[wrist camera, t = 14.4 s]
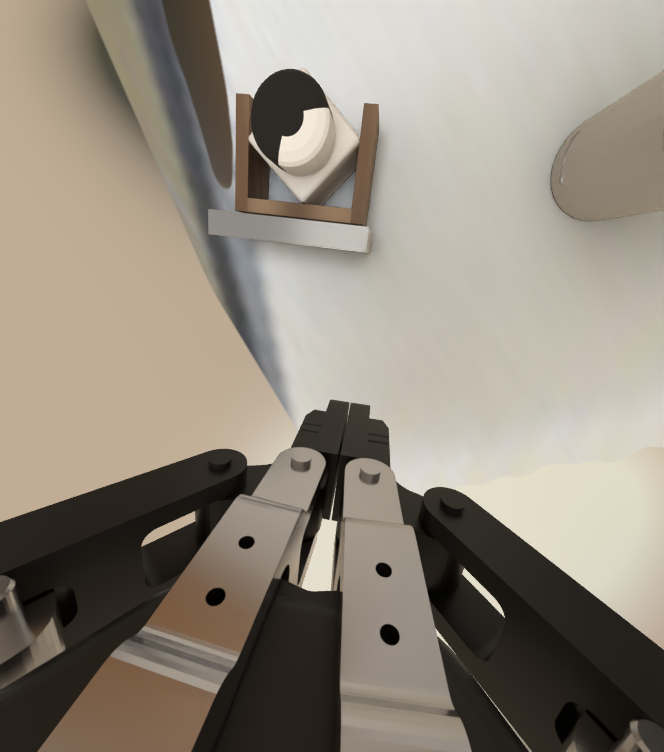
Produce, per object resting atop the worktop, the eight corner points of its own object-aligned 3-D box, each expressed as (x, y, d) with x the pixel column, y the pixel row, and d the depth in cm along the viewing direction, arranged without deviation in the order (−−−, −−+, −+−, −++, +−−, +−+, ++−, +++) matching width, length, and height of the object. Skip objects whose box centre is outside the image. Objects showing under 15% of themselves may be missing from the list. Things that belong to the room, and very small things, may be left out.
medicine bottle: (270, 159, 36) (220, 116, 25) (318, 101, 33) (286, 24, 22) (316, 212, 37) (287, 194, 26) (364, 160, 35) (356, 115, 23)
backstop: (372, 233, 37) (369, 226, 28) (369, 253, 38) (365, 252, 28) (250, 220, 38) (208, 209, 29) (250, 238, 39) (208, 233, 30)
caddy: (379, 129, 33) (378, 104, 28) (365, 229, 37) (362, 224, 31) (259, 119, 35) (236, 93, 29) (257, 216, 38) (235, 210, 32)
